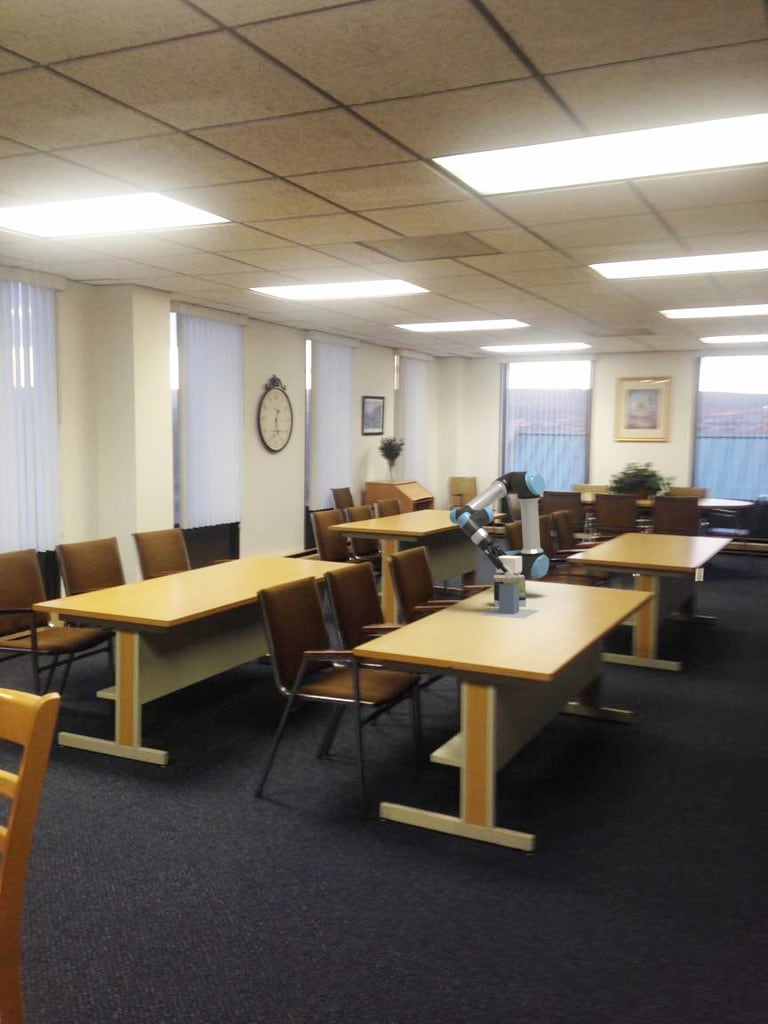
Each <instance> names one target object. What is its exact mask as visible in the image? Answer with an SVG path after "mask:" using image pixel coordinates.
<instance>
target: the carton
mask: <svg viewBox="0 0 768 1024" xmlns="http://www.w3.org/2000/svg"><path fill="white" fill-rule="evenodd" d="M519 609H520V607H519V584H510V583H504V584H501V585H499V613H502V614H516V613H518V612H519Z"/></svg>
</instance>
